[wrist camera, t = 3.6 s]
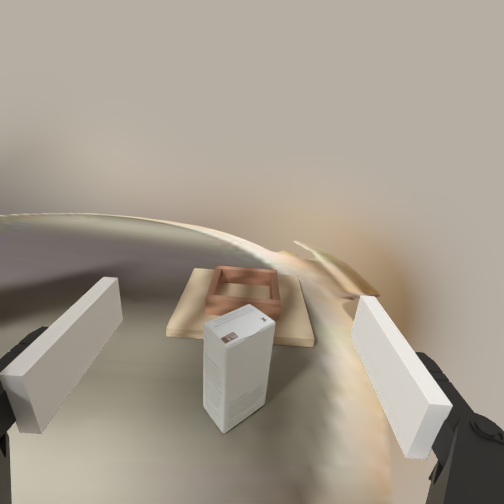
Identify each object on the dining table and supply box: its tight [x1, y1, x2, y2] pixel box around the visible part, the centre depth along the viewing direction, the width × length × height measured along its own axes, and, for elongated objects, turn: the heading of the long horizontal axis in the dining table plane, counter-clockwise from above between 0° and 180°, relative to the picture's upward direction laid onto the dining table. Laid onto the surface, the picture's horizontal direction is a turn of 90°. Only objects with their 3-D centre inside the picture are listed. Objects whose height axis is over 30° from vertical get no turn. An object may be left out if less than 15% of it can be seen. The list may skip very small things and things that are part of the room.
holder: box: [166, 266, 315, 347], centre depth 50 cm, size 22×20×4 cm
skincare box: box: [203, 304, 276, 434], centre depth 30 cm, size 6×4×12 cm
